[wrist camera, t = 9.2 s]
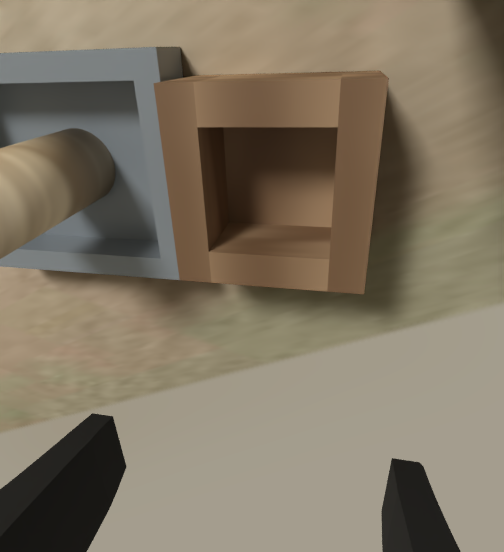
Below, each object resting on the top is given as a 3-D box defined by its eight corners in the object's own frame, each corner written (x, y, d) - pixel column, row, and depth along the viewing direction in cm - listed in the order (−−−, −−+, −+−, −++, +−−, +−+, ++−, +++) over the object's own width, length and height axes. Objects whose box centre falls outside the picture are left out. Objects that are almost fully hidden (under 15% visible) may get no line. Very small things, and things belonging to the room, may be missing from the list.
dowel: (107, 128, 18) (-19, 170, 12) (121, 201, 19) (15, 271, 13) (41, 128, 18) (-112, 167, 12) (59, 198, 20) (-69, 265, 14)
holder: (380, 70, 15) (388, 78, 11) (361, 247, 18) (363, 294, 15) (195, 75, 16) (153, 83, 13) (209, 239, 20) (179, 280, 16)
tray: (180, 47, 16) (155, 46, 14) (201, 257, 20) (185, 280, 18) (-40, 55, 18) (-88, 56, 16) (22, 246, 22) (-10, 265, 20)
